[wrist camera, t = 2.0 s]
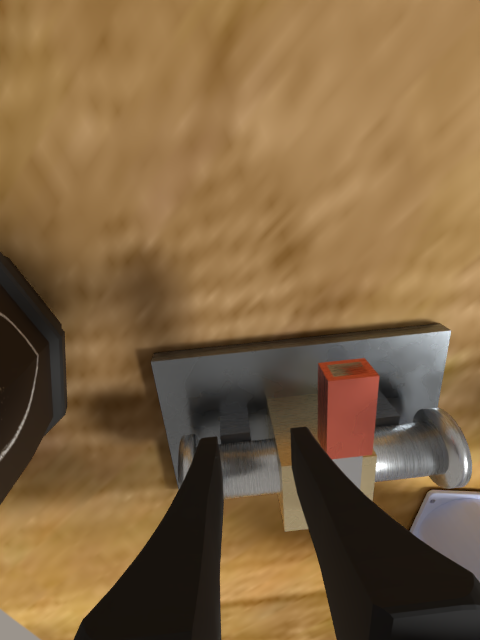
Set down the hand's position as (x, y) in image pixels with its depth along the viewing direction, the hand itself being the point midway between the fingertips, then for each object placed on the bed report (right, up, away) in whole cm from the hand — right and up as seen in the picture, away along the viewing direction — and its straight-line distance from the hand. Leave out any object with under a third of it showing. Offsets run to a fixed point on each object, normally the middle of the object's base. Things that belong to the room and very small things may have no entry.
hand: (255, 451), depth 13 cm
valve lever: (+4, -1, +3) cm, 5 cm away
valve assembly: (+4, -2, +12) cm, 13 cm away
